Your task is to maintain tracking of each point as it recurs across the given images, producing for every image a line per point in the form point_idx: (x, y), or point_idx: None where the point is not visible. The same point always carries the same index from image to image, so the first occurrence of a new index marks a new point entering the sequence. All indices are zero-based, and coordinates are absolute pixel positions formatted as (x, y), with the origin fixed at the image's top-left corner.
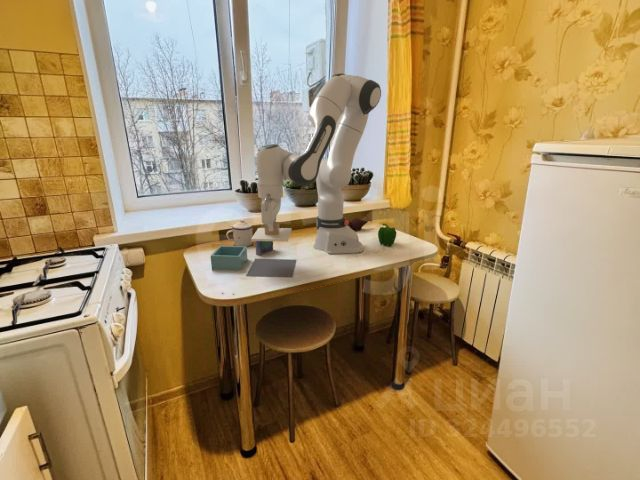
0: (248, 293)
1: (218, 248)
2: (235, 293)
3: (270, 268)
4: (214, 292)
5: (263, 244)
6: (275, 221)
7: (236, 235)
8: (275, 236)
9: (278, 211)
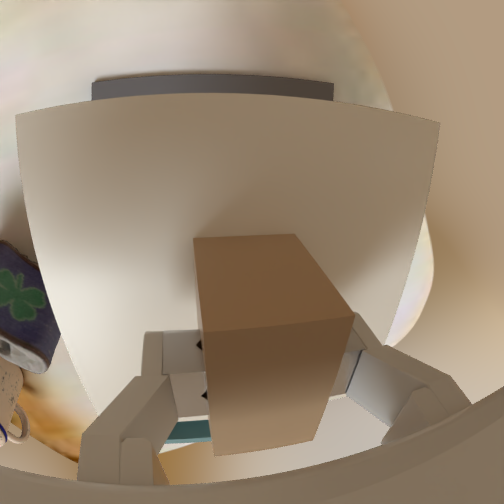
0: (421, 240)
1: (181, 440)
2: (413, 276)
3: None
4: (395, 329)
5: (29, 304)
6: (162, 384)
7: (12, 413)
8: (351, 252)
9: (3, 493)
